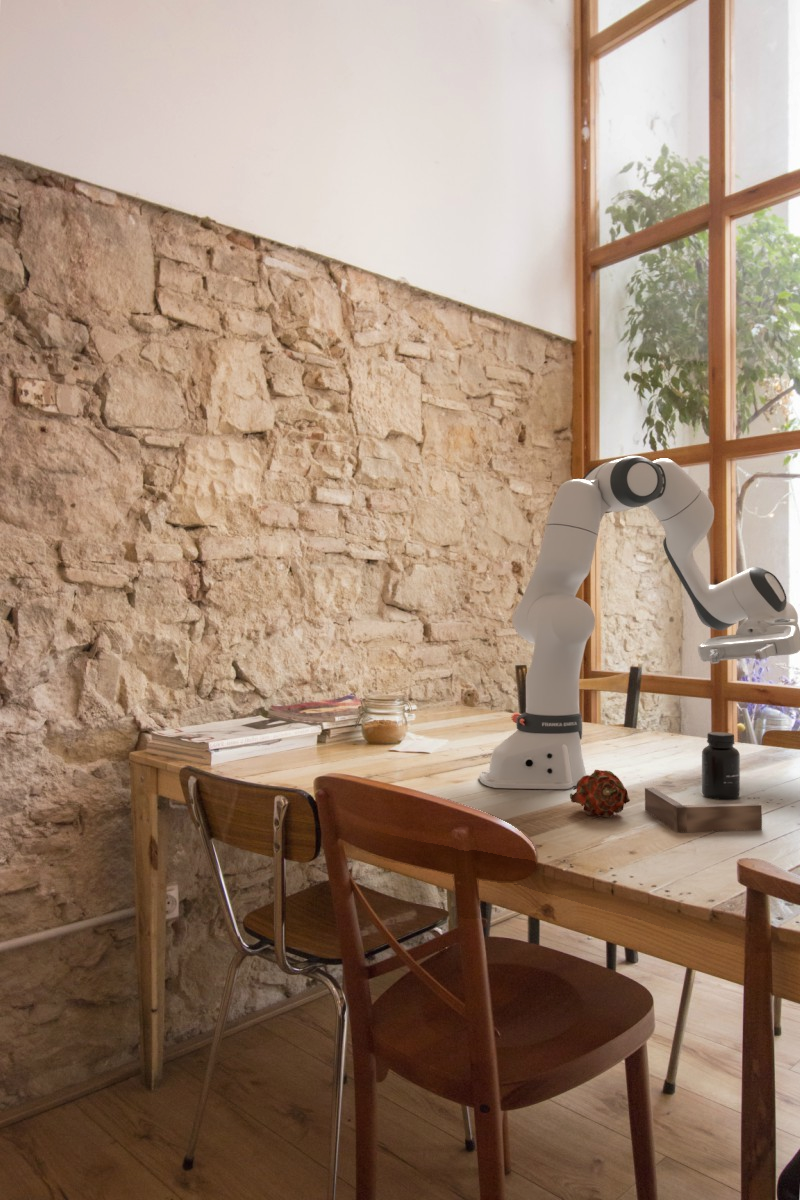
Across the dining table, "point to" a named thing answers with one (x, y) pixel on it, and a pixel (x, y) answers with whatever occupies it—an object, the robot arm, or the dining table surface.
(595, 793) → the dragon fruit
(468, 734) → the dining table surface
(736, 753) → the supplement bottle
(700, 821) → the corner arena
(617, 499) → the robot arm
